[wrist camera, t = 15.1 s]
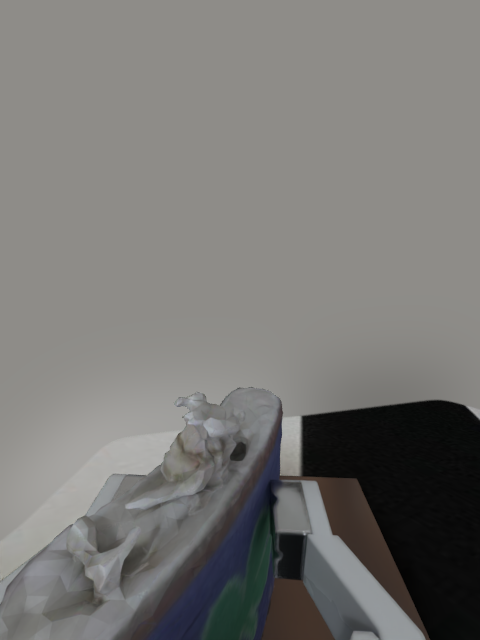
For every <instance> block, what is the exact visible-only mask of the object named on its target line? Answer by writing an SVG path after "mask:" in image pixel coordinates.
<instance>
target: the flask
mask: <svg viewBox="0 0 480 640" xmlns="http://www.w3.org/2000/svg"><path fill="white" fill-rule="evenodd" d="M174 405H175V406H177V407H180V406H185V407H187V408H189V410H190V412H188V413H187V414H185V415H184V416H183V417H182V418H184V419H185V421H186V427H185V429H184V430H183V431H182V432H181V433H179V434H178V436H177V437H176V439H175V441H174V442H173V443H172V445H171V446H170V451H168V452H167V453H165V456H164V460H163V462H162V464H161V465H159V466H158V467H156V468H155V469H154V470H153V471H152V472H151V473H150V474H148V475H147V476H146V477H144V478H142V479H140V480H138V482H137V483H136V484H135V485H134V486H133V487H132V488H131V489H130V490H128V491H127V492H126V493H125V494H123V495H122V496H121V497H119V498H117V499H115V500H113V501H111V502H110V503H108V504H106V505H104V506H102V507H101V508H100V509H99V510H98V511H97V512H96V513H95V514H94V515H91V516H89V517H87V516H86V515H85V516H83V517H81V518H79V519H77V521H76V522H75V523H74V524H72V525H69V526H68V527H67V528H66V529H65V530H64V531H62V532H61V533H60V534H59V535H58V536H56V537H55V538H54V540H53V541H52V542H51V544H49V545H48V546H47V547H46V548H44V549H43V550H42V551H41V552H40V553H38V554H37V555H36V556H35V557H33V558H32V559H31V560H30V561H29V562H28V563H27V564H26V565H25V566H24V568H23V569H22V570H21V571H20V572H19V573H18V574H17V576H16V577H15V578H14V579H13V580H12V581H11V582H10V584H9V585H8V586H7V588H6V591H5V594H4V597H3V600H2V602H1V604H0V640H262V637H263V635H264V626H265V624H266V620H267V616H269V609H270V605H271V596H272V594H273V588H274V587H275V586H274V581H275V578H273V566H272V553H271V544H272V536H271V534H270V523H269V502H270V480H279V476H280V444H281V438H282V414H283V412H282V404H281V400H280V399H279V398H278V397H277V396H276V395H274V394H273V393H272V392H271V391H268V390H265V389H258V388H253V387H249V388H237V389H236V390H234V391H232V392H231V393H230V394H229V395H228V396H227V397H226V398H225V399H224V400H223V401H222V403H221V404H220V406H219V405H216V404H210V403H207V401H206V396H205V395H204V394H202V393H199V392H197V393H195V394H193V395H191V396H189V397H186V398H185V397H179V398H178V399H177V400H176V401H175V403H174Z"/></svg>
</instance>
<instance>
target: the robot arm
mask: <svg viewBox="0 0 480 640" xmlns="http://www.w3.org/2000/svg"><path fill="white" fill-rule="evenodd" d="M144 477H146V475H130V474H113V475H111V476H110V477H109V478H108V480H107V481H106V483H105V484H104V486H103V488H102V489H101V491H100V492H99V494H98V496H97V497H96V499H95V500H94V502H93V504H92V505H91V507H90V508H89V510H88V511H87V513H86V516H87V517H89V516H91V515H94V514H95V513H96V512H97V511H98V510H99V509H100V508H101V507H102V506H104V505H106V504H108V503H110V502H111V501H113V500H115V499H117V498H119V497H121V496H122V495H123V494H125V493H126V492H127V491H128V490H130V489H131V488H132V487H133V486H134V485H135V484H136V483H137V482H138V480H140V479H142V478H144ZM269 523H270V534H271V536H272V544H271V553H272V566H273V578H279V579H291V580H303V583H304V585H305V587H306V589H307V590H308V592H309V594H310V596H311V598H312V599H313V601H314V603H315V605H316V606H317V608H318V610H319V612H320V614H321V615H322V617H323V619H324V621H325V622H326V624H327V626H328V628H329V629H330V631H331V633H332V635H333V637H334V638H335V640H426V639H425V637H424V635H423V633H422V632H421V631H420V629H419V628H418V627H417V626H416V625H415V624H414V623H413V621H412V620H411V619H410V618H409V617H408V616H407V614H406V613H405V612H404V611H403V610H402V609H401V608H400V606H399V605H398V604H397V603H396V602H395V601H394V600H393V598H392V597H391V596H390V595H389V594H388V593H387V591H386V590H385V589H384V588H383V587H382V586H381V585H380V583H379V582H378V581H377V580H376V579H375V578H374V577H373V575H372V574H371V573H370V572H369V571H368V570H367V568H366V567H365V566H364V565H363V564H362V563H361V562H360V560H359V559H358V558H357V557H356V556H355V555H354V554H353V552H352V551H351V550H350V549H349V548H348V547H347V545H346V544H345V543H344V542H343V541H342V540H341V539H340V537H339V536H337V535H333V534H332V531H331V528H330V524H329V521H328V517H327V514H326V510H325V507H324V504H323V500H322V497H321V493H320V490H319V486H318V483H317V482H316V481H305V480H270V502H269ZM50 544H51V543H50ZM48 545H49V544H48ZM48 545H47V546H48ZM47 546H46V547H47ZM46 547H44V548H46ZM44 548H43V549H44ZM43 549H42V550H43ZM42 550H41V551H42ZM41 551H39V552H38V553H40V552H41ZM38 553H37V554H38ZM37 554H35V555H34V556H33V557H35V556H36V555H37ZM33 557H32V558H33ZM32 558H30V559H29V560H28V561H26V562H25V563H24V564H22V565H21V566H20V567H19V568H17V569H16V570H15V571H13V572H12V573H11V574H9V575H8V576H7V577H6V578H4V579H3V580H2V581H0V604H1V602H2V600H3V597H4V594H5V591H6V588H7V586H8V585H9V584H10V582H11V581H12V580H13V579H14V578H15V577H16V576H17V574H18V573H19V572H20V571H21V570H22V569H23V568H24V566H25V565H26V564H27V563H28V562H29V561H30V560H31V559H32Z"/></svg>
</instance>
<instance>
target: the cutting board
mask: <svg viewBox="0 0 480 640" xmlns="http://www.w3.org/2000/svg"><path fill="white" fill-rule="evenodd" d="M279 480H305V481H316V482H317V483H318V486H319V490H320V493H321V497H322V500H323V504H324V507H325V510H326V514H327V517H328V521H329V524H330V528H331V531H332V534H333V535H337V536H339V537H340V539H341V540H342V541H343V542H344V543H345V544H346V545H347V547H348V548H349V549H350V550H351V551H352V552H353V554H354V555H355V556H356V557H357V558H358V559H359V560H360V562H361V563H362V564H363V565H364V566H365V567H366V568H367V570H368V571H369V572H370V573H371V574H372V575H373V577H374V578H375V579H376V580H377V581H378V582H379V583H380V585H381V586H382V587H383V588H384V589H385V590H386V591H387V593H388V594H389V595H390V596H391V597H392V598H393V600H394V601H395V602H396V603H397V604H398V605H399V606H400V608H401V609H402V610H403V611H404V612H405V613H406V614H407V616H408V617H409V618H410V619H411V620H412V621H413V623H414V624H415V625H416V626H417V627H418V628H419V629H420V631H421V632H422V633H423V635H424V637H425V639H426V640H430V638H429V636H428V634H427V632H426V630H425V627H424V625H423V623H422V621H421V619H420V617H419V614H418V612H417V610H416V608H415V606H414V603H413V601H412V599H411V597H410V595H409V592H408V590H407V588H406V586H405V584H404V581H403V579H402V577H401V575H400V573H399V571H398V568H397V566H396V564H395V562H394V560H393V557H392V555H391V553H390V551H389V549H388V546H387V544H386V542H385V540H384V538H383V535H382V533H381V531H380V529H379V527H378V525H377V522H376V520H375V518H374V516H373V514H372V511H371V509H370V507H369V505H368V503H367V500H366V498H365V496H364V494H363V492H362V489H361V487H360V485H359V483H358V481H357V479H351V478H326V477H302V476H279ZM274 586H275V587H274V588H273V594H272V596H271V605H270V609H269V616H267V620H266V624H265V626H264V635H263V637H262V640H335V638H334V637H333V635H332V633H331V631H330V629H329V628H328V626H327V624H326V622H325V621H324V619H323V617H322V615H321V614H320V612H319V610H318V608H317V606H316V605H315V603H314V601H313V599H312V598H311V596H310V594H309V592H308V590H307V589H306V587H305V585H304V583H303V580H291V579H279V578H275V581H274Z"/></svg>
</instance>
